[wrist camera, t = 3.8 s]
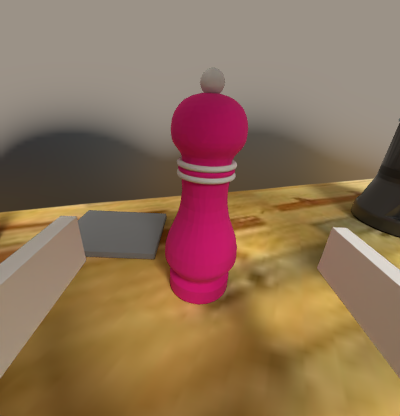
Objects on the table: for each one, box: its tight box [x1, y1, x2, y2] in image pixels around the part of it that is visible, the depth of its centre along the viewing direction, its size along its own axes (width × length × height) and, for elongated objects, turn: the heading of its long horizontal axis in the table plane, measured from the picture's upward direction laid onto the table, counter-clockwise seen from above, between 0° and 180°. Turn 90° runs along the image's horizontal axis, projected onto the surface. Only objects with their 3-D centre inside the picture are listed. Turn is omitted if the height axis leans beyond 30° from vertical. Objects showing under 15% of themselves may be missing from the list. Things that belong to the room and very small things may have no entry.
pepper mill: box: [165, 68, 248, 304], centre depth 19 cm, size 7×7×20 cm
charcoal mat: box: [78, 210, 166, 259], centre depth 31 cm, size 13×11×1 cm
